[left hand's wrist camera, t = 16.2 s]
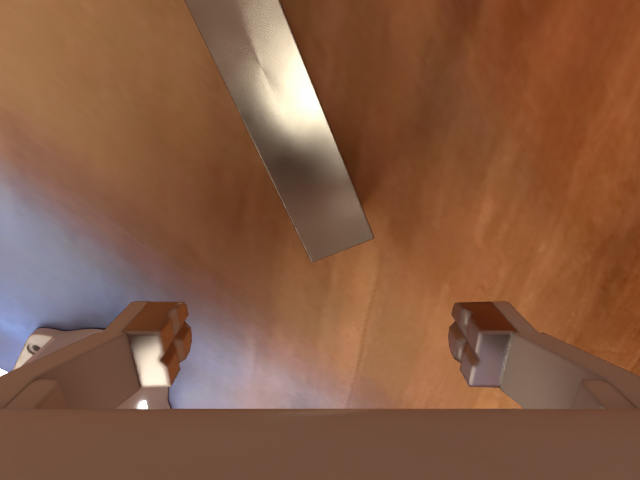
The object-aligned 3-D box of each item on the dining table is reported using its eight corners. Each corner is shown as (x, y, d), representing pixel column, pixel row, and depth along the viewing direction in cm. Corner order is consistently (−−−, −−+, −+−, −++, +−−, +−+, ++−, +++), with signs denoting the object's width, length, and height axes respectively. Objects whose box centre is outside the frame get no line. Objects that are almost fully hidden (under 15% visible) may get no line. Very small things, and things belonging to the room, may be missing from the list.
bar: (362, 207, 33) (374, 238, 25) (313, 226, 34) (311, 263, 26) (226, -132, 24) (181, -246, 16) (164, -95, 25) (93, -187, 17)
